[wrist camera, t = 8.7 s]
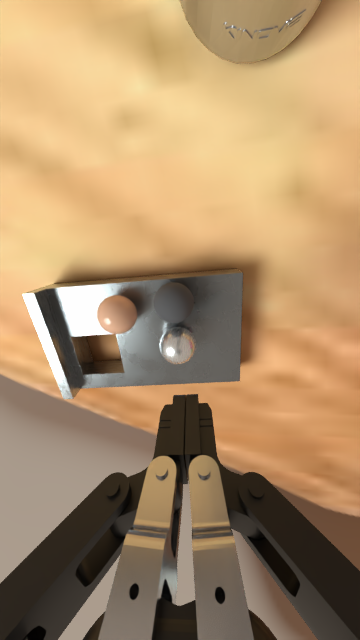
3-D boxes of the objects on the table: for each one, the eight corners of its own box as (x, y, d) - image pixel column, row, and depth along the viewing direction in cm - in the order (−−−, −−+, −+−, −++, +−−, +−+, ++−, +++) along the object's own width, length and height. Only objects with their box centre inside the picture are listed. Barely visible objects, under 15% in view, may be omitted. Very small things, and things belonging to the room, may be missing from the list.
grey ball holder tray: (53, 283, 20) (22, 294, 16) (236, 268, 18) (248, 275, 15) (83, 374, 24) (63, 399, 20) (234, 366, 23) (243, 391, 19)
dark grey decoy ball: (153, 288, 17) (150, 279, 14) (189, 285, 17) (194, 276, 14) (156, 324, 17) (154, 324, 14) (192, 321, 17) (199, 320, 14)
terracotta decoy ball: (102, 292, 17) (84, 303, 14) (137, 289, 17) (127, 300, 14) (110, 325, 18) (95, 342, 15) (143, 323, 18) (135, 339, 15)
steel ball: (199, 321, 17) (165, 318, 18) (188, 344, 15) (150, 338, 16) (200, 350, 19) (169, 345, 20) (191, 375, 16) (156, 368, 17)
